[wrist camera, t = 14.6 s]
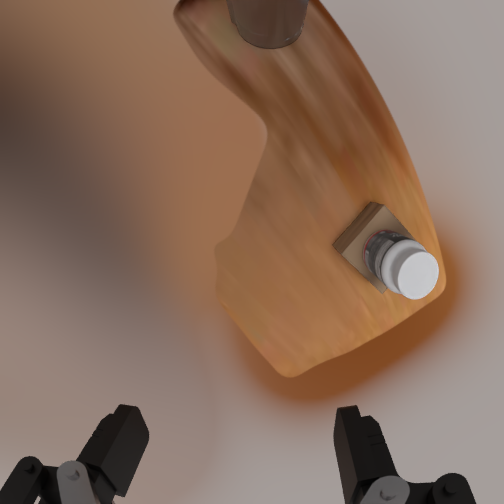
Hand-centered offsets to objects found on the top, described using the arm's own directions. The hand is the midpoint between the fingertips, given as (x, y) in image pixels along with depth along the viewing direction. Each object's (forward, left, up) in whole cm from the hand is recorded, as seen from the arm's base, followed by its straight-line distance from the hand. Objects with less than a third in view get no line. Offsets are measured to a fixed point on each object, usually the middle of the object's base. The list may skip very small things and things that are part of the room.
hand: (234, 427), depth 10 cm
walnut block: (+11, +11, -30) cm, 34 cm away
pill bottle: (+11, +11, -25) cm, 30 cm away
